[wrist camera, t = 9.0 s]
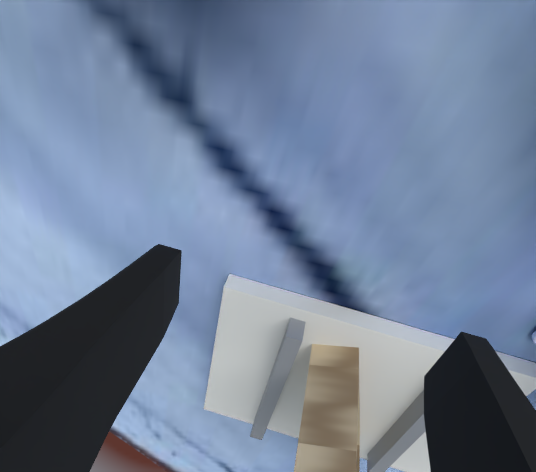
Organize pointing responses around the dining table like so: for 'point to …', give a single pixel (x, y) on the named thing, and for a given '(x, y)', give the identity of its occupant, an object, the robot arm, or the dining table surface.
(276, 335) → the white board with bars
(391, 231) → the dining table surface
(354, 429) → the wooden frame
